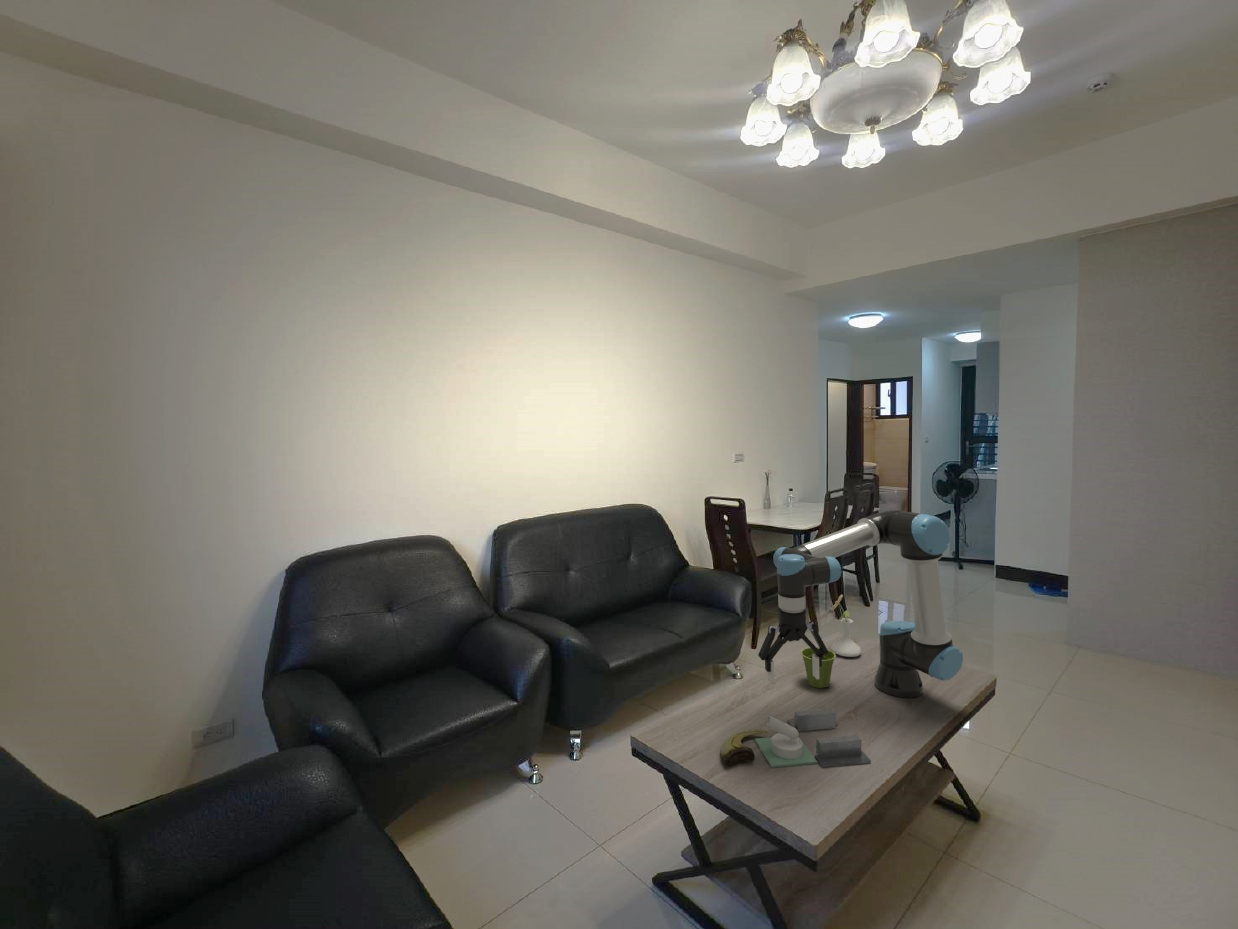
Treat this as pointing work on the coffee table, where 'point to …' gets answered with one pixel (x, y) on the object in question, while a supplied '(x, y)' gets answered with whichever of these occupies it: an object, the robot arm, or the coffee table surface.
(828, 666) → the plant pot
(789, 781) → the coffee table surface
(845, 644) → the flower in vase
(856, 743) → the vise
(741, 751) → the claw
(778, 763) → the felt pad
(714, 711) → the coffee table surface
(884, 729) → the coffee table surface
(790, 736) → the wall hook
